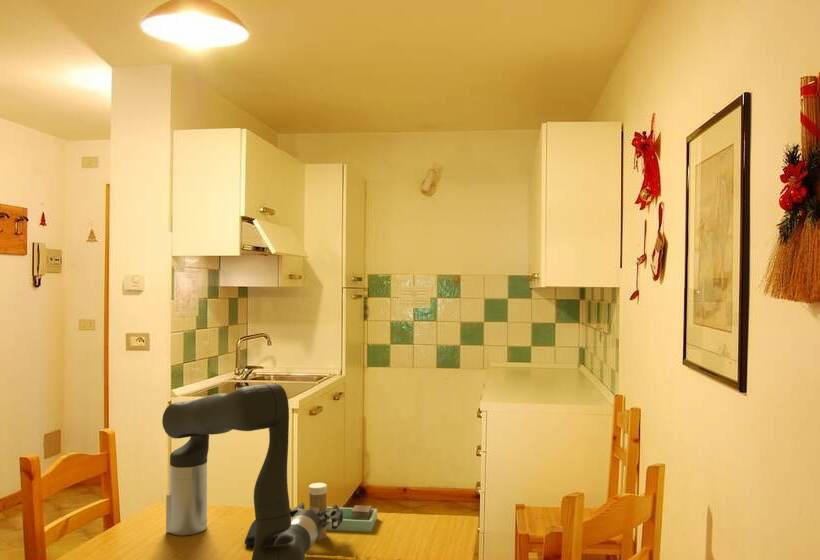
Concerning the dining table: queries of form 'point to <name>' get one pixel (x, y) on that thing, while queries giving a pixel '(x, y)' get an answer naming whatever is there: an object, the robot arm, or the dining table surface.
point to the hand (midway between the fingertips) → (319, 507)
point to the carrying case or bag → (251, 536)
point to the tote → (354, 521)
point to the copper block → (361, 512)
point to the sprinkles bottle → (318, 502)
